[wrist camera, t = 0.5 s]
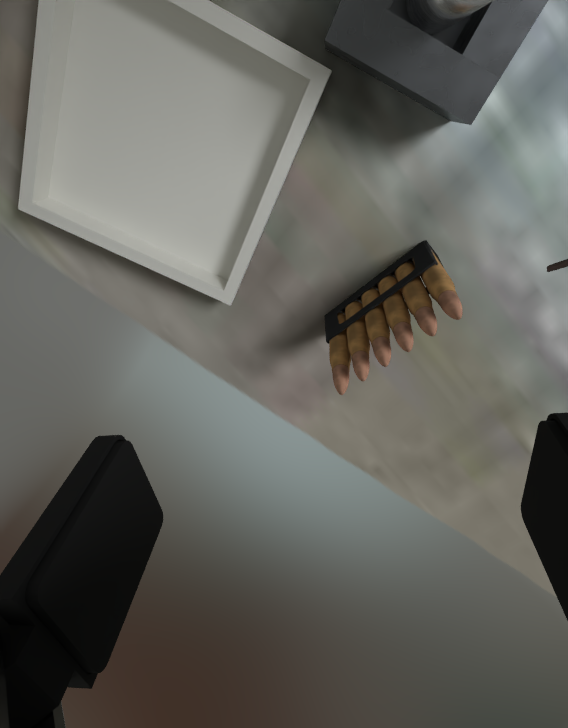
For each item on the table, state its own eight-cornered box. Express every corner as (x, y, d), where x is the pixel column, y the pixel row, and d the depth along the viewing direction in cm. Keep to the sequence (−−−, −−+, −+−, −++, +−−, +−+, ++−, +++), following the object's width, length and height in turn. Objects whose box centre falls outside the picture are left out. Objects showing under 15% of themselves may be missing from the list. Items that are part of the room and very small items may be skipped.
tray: (74, -73, 26) (47, -91, 24) (331, 72, 29) (331, 70, 27) (40, 201, 36) (18, 209, 33) (237, 292, 38) (230, 305, 36)
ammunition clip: (425, 239, 34) (465, 297, 24) (437, 256, 35) (482, 319, 25) (324, 316, 39) (322, 392, 29) (336, 330, 40) (339, 409, 29)
